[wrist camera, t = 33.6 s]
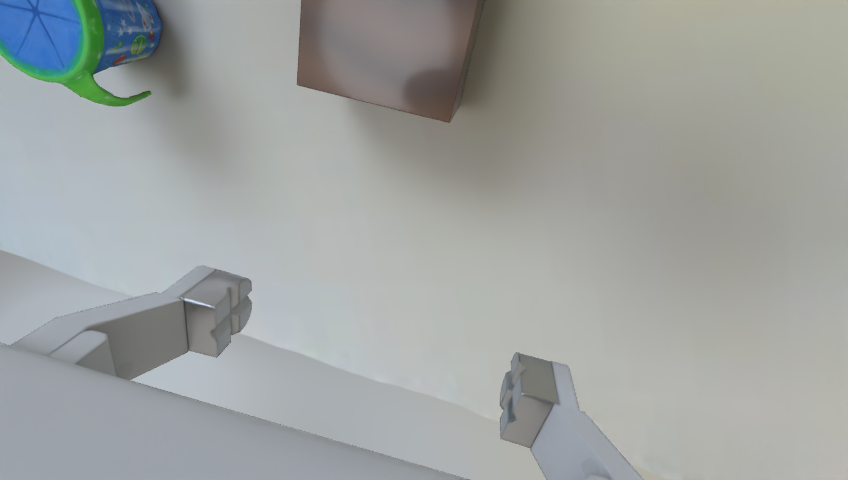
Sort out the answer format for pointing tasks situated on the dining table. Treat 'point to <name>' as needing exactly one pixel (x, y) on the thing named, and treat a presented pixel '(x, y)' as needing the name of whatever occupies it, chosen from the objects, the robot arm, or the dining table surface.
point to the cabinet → (390, 51)
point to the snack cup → (78, 40)
